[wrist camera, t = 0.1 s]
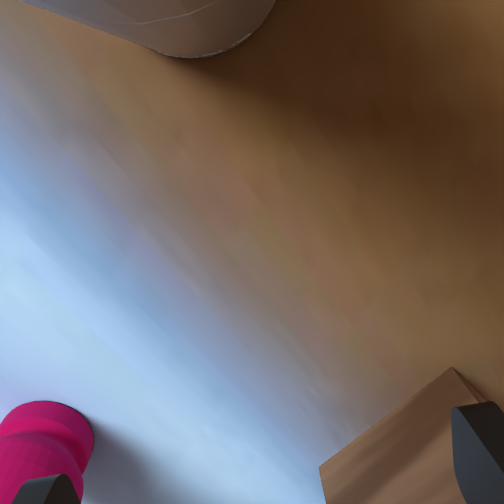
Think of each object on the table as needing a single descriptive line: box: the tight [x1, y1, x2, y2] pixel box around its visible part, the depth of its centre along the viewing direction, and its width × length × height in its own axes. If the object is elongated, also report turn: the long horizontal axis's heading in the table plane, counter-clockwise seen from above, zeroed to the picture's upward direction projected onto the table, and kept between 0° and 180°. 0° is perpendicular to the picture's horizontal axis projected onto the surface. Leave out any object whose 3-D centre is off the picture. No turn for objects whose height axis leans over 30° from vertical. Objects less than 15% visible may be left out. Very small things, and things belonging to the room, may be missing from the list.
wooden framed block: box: [319, 367, 486, 504], centre depth 27 cm, size 4×12×9 cm, turn 135°
